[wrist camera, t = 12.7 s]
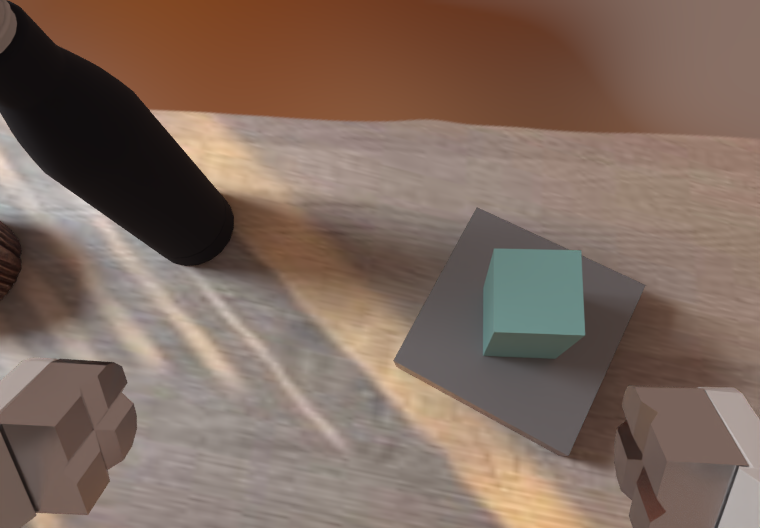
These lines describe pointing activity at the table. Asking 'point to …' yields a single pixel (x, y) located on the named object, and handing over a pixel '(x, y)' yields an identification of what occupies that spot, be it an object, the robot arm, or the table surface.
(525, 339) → the teal block
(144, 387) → the table surface
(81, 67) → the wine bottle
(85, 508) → the robot arm
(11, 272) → the cupcake
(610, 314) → the plate
